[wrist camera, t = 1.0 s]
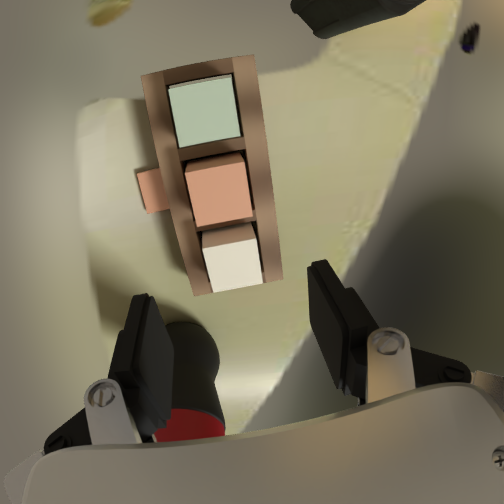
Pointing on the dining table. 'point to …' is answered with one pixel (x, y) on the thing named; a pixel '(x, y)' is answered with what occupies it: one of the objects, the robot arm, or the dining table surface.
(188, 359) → the cola bottle
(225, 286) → the cream button
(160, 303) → the dining table surface
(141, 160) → the dining table surface
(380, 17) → the candle
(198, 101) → the sage button
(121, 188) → the dining table surface
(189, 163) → the terracotta button
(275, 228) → the walnut console
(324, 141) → the dining table surface
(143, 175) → the tile
